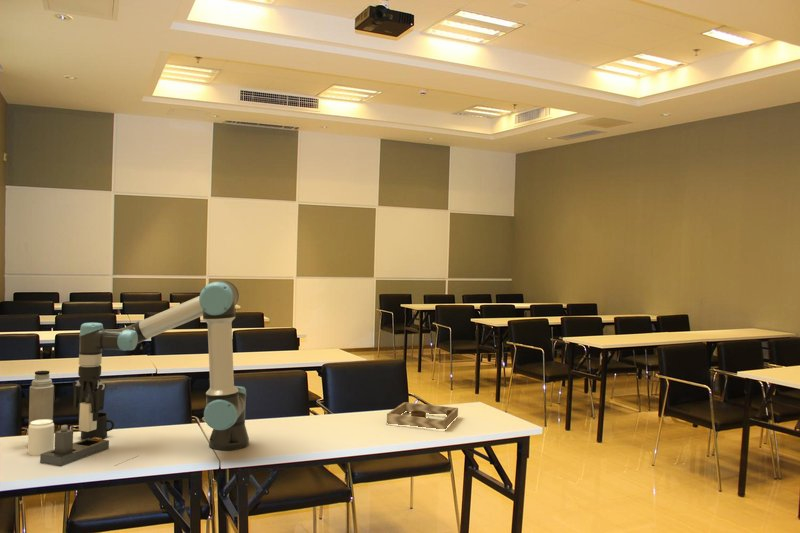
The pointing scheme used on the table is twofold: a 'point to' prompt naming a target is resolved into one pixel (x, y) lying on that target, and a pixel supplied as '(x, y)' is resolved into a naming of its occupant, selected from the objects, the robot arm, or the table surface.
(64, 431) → the twin plug
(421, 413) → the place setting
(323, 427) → the table surface
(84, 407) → the plug
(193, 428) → the table surface
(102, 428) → the mug
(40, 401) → the thermos bottle
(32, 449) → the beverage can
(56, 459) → the strip
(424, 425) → the frame
